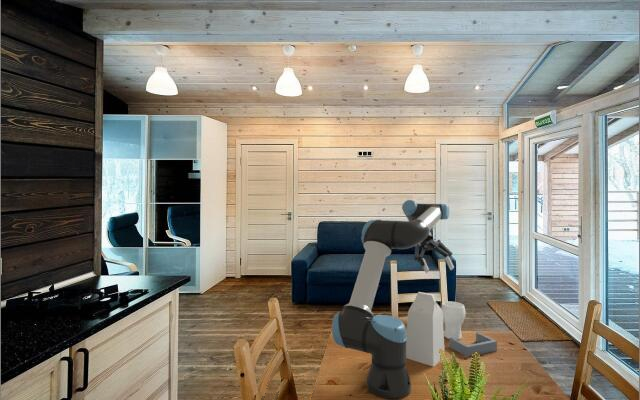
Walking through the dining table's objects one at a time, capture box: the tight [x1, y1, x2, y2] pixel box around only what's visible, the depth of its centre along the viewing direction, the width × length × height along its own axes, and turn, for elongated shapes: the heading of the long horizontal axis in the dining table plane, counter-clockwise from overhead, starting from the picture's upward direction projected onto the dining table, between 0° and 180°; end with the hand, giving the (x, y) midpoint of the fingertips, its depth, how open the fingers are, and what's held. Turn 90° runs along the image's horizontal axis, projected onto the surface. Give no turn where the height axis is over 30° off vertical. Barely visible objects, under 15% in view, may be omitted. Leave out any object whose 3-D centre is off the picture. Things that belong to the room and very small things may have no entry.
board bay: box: [448, 331, 498, 358], centre depth 155 cm, size 16×10×4 cm, turn 111°
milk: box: [406, 291, 445, 367], centre depth 147 cm, size 12×12×26 cm
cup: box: [440, 301, 466, 341], centre depth 168 cm, size 11×11×15 cm
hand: (440, 270), depth 174 cm, fingers open, 13 cm apart
